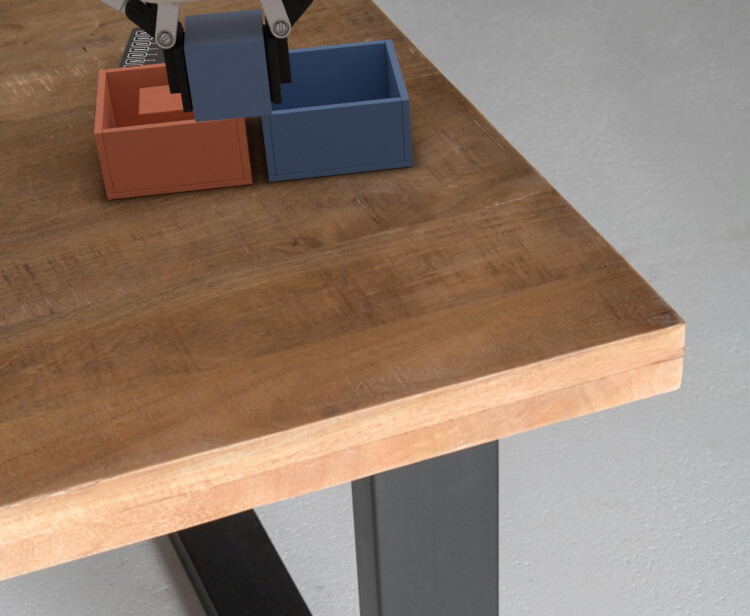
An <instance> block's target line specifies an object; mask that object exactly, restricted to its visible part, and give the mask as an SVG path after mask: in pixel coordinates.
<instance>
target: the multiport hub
mask: <svg viewBox="0 0 750 616" xmlns="http://www.w3.org/2000/svg"><path fill="white" fill-rule="evenodd" d="M161 63H165V60H164V53H163V48H161V47H159V46H158V45H157V43H156V41H155V39H154V38H153V37H151V36H150V35H149V34H148V33H146V32H145V31H144V30H142V29H141V28H140V27H138V26H137V27H134V28H132V29H131V31H130V33H129V36H128V39H127V41H126V44H125V47H124V50H123V52H122V55H121V58H120V60H119V63H118V64H117V65H118V66H117V68H123V67H133V66H142V65H152V64H161Z"/></svg>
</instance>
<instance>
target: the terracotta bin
mask: <svg viewBox="0 0 750 616" xmlns="http://www.w3.org/2000/svg"><path fill="white" fill-rule="evenodd" d="M166 85H169V84H168V78H167V72H166V66H165V63H161V64H152V65H142V66H133V67H123V68H118V67H116V68H107V69H99V70H98V76H97V87H96V88H97V89H96V99H95V101H96V102H95V115H94V129H93V135H94V141H95V146H96V150H97V155H98V159H99V160H98V161H99V164H100V169H101V174H102V179H103V183H104V188H105V193H106V198H107V200H108V201H111V200H120V199H129V198H137V197H146V196H156V195H165V194H174V193H175V194H176V193H183V192H192V191H193V192H194V191H201V190H203V191H204V190H210V189H211V190H212V189H220V188H228V187H238V186H247V185H252V184H253V175H252V166H251V156H250V146H249V136H248V135H249V134H248V125H247V124H248V123H247V117H246V118H235V119H224V120H214V121H203V122H195V119H194V120H185V121H175V122H166V123H157V124H147V125H141V123H140V118H139V89H140V88H147V87H157V86H166Z"/></svg>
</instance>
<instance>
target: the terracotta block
mask: <svg viewBox="0 0 750 616" xmlns="http://www.w3.org/2000/svg"><path fill="white" fill-rule="evenodd" d="M139 118H140V123H141V125H147V124H157V123H166V122H175V121H185V120H194V119H195V117H194V110H192V112H185V113H184V111H183V105H182V99H181V93H176V94H170V90H169V85H166V86H157V87H147V88H140V89H139Z"/></svg>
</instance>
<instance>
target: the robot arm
mask: <svg viewBox="0 0 750 616" xmlns="http://www.w3.org/2000/svg"><path fill="white" fill-rule="evenodd" d="M98 1H99V2H101V3H102V4H104V5H106V6H107V7H109V8H110V9H113V10H115V11H116V12H118V13H121V14H123V15H125V16H126V18H127V19H128V20H129V21H130V22H132V23H133V24H134V25H136V26H137V28H138V27H140V28H141V29H142V30H144V31H145V32H146V33H148V34H149V35H150V36H151V37H153V38H154V39H155V41H156V43H157V45H158V46H159V47H161V48H163V53H164V60H165V66H166V72H167V78H168V84H169V90H170V94H176V93H181V99H182V105H183V111H184V113H185V112H192V110H193V104H192V97H191V91H190V84H189V78H188V71H187V65H186V58H185V52H184V33H185V27H184V26H183V24H182V22H181V21H179V14H180V4H181V3H188V2H189V3H190V2H198V1H199V2H200V1H202V0H98ZM313 2H314V0H259V3H260V6H261V10H262V12H263V14H264V23H263V34H264V47H265V56H266V65H267V74H268V82H269V91H270V100H271V102H274V104H282V94H281V84H286V83H292V79H291V69H290V59H289V50H290V49H289V40H288V37H289V35H290V34H291V32H292V27H293V26H295V25H296V23H297V22H298V21H299V19H300V18H301V17H302V16H303V15H304V13H305V12H307V10H308V9H309V7H310V6H311V5H312V4H313Z"/></svg>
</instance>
